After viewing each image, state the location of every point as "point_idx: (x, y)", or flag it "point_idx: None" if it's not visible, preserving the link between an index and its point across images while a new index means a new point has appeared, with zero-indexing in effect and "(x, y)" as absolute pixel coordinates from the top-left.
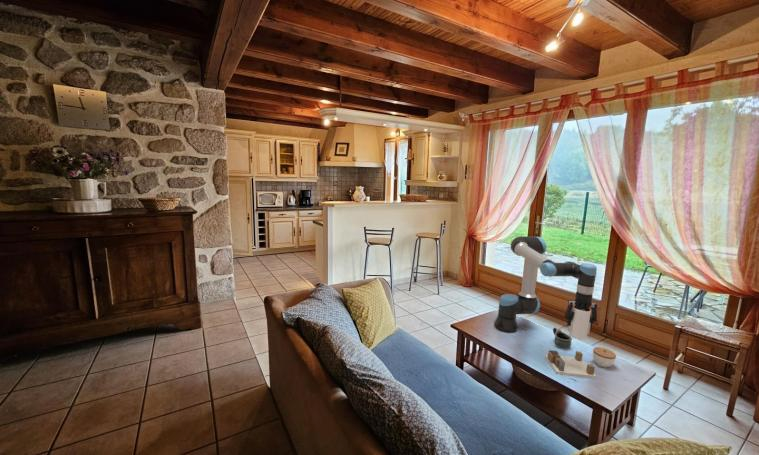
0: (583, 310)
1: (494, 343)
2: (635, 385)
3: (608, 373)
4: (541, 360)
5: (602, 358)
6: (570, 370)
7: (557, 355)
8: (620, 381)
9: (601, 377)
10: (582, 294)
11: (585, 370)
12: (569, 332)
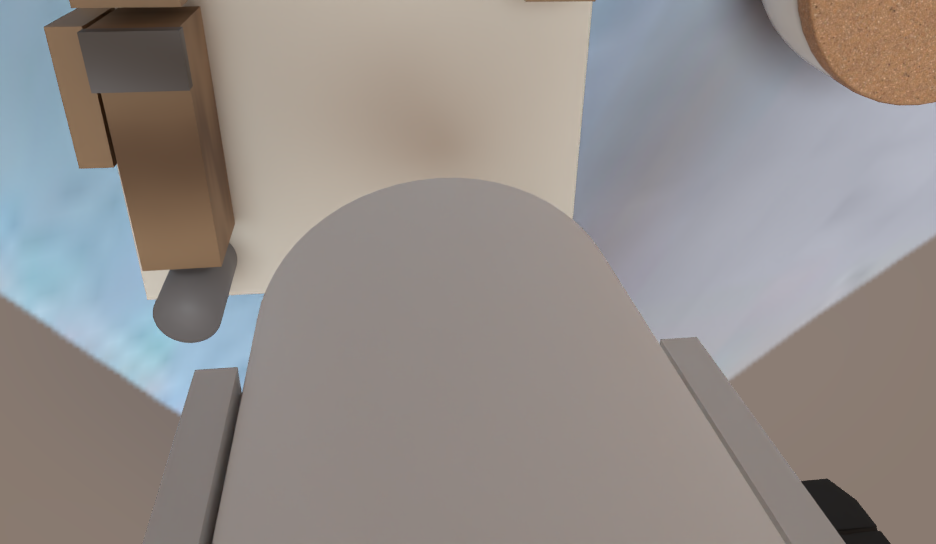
0: None
1: None
2: (869, 276)
3: (759, 132)
4: (8, 17)
5: (818, 67)
6: None
7: (169, 136)
8: (777, 248)
9: (629, 226)
10: None
11: None
12: (250, 353)
